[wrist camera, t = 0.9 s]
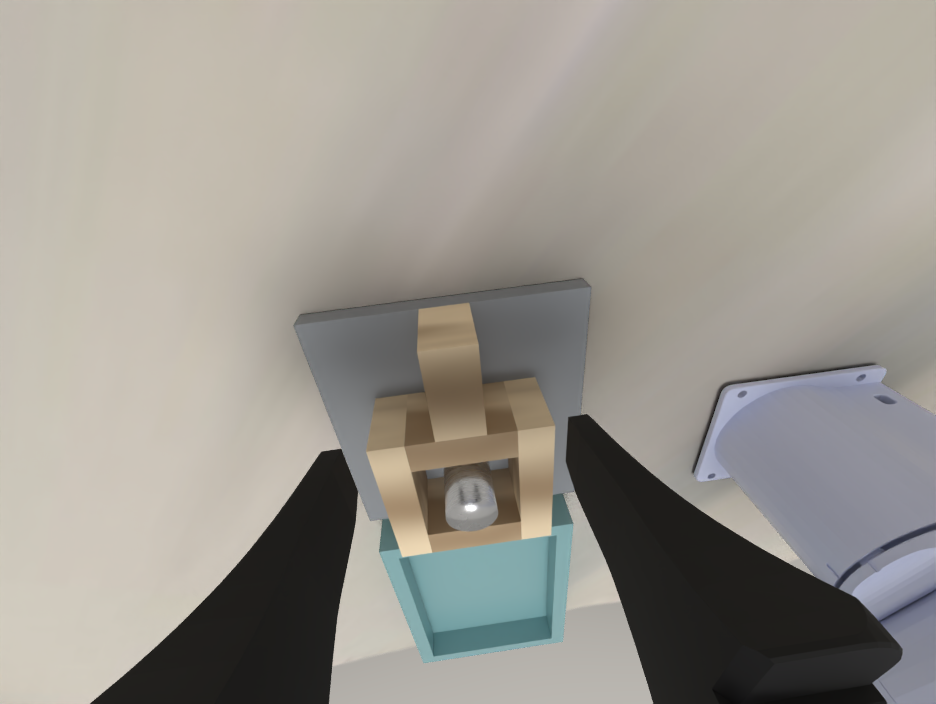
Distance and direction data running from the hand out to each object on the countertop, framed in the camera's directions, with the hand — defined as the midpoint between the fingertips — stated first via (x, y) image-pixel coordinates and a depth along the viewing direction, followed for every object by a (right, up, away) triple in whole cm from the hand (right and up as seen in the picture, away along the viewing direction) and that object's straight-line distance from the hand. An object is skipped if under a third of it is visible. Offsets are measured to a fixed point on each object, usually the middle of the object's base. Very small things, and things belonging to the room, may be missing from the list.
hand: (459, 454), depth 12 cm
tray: (+1, -14, +18) cm, 23 cm away
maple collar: (0, 0, +8) cm, 8 cm away
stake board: (0, 0, +9) cm, 9 cm away
